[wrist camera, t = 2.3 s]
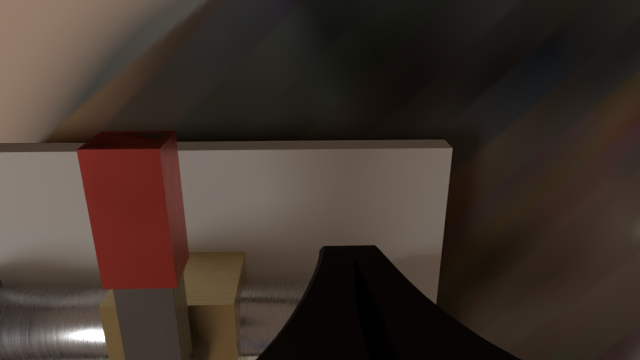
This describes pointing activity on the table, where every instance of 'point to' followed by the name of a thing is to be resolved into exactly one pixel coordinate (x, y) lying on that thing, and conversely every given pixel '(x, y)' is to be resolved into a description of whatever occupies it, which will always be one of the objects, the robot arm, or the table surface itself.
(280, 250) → the mounting board
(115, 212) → the valve lever
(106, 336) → the valve body
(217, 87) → the table surface
